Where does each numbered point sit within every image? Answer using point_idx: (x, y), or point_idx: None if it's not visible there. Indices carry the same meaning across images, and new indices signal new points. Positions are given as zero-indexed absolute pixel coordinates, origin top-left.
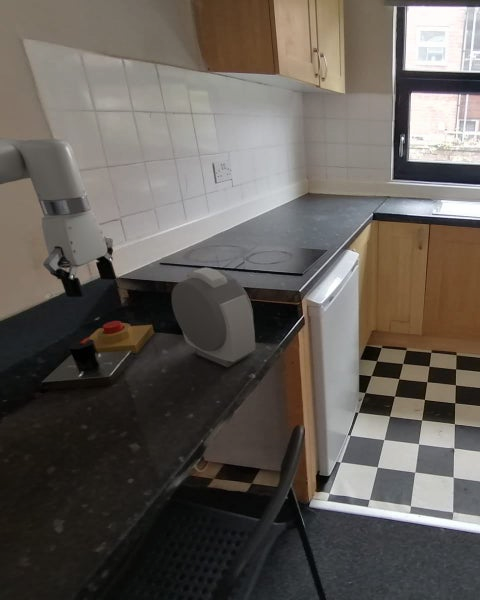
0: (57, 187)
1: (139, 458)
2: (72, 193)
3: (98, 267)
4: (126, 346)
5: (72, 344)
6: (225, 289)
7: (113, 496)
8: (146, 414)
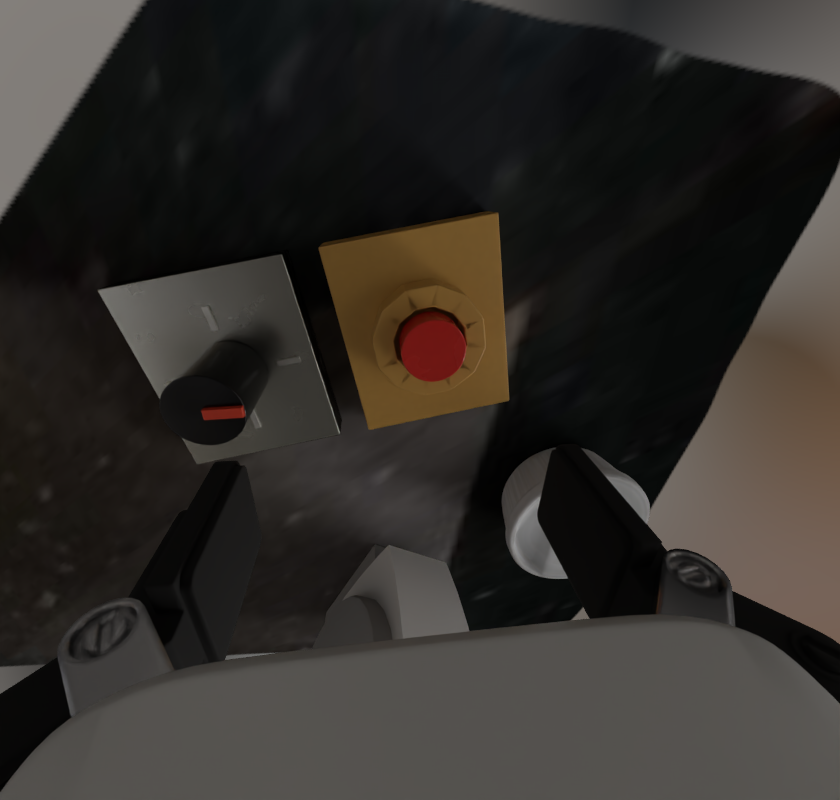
0: None
1: (27, 619)
2: None
3: (599, 521)
4: (363, 406)
5: (188, 383)
6: None
7: None
8: (134, 569)
